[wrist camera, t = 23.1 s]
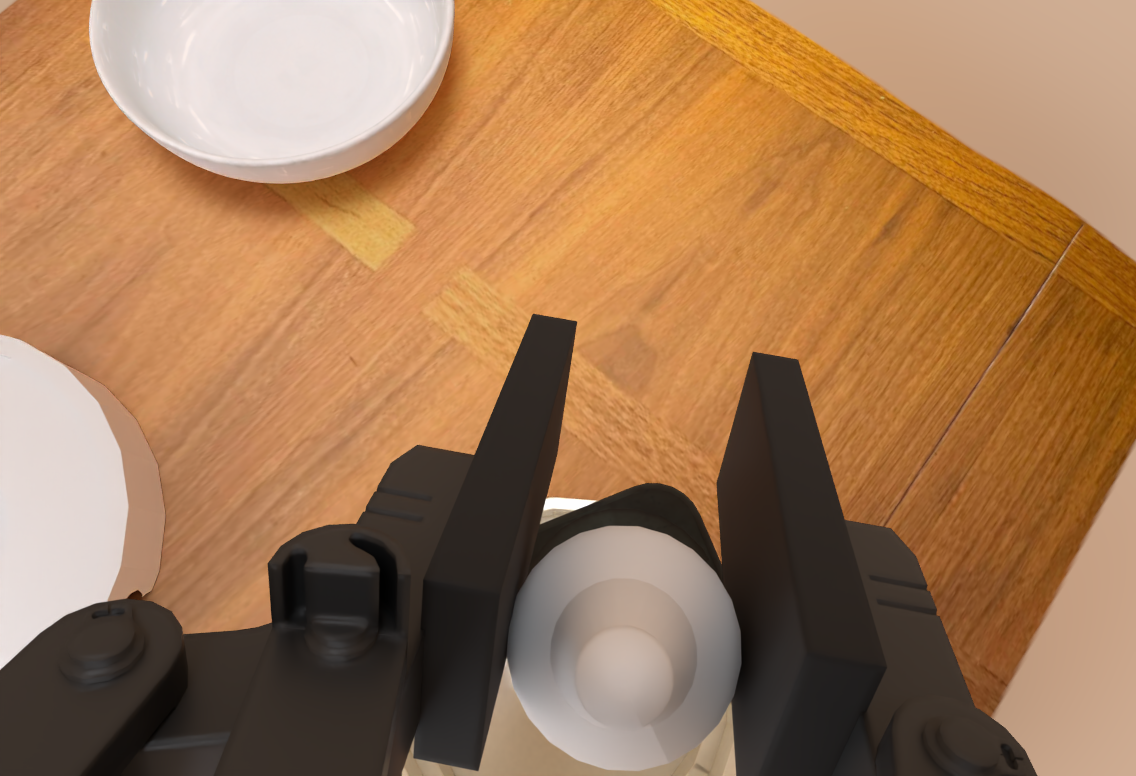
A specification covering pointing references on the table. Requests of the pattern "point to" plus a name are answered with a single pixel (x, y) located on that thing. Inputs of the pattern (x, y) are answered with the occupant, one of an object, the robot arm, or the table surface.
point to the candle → (625, 631)
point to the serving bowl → (273, 78)
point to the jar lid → (543, 771)
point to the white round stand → (69, 496)
